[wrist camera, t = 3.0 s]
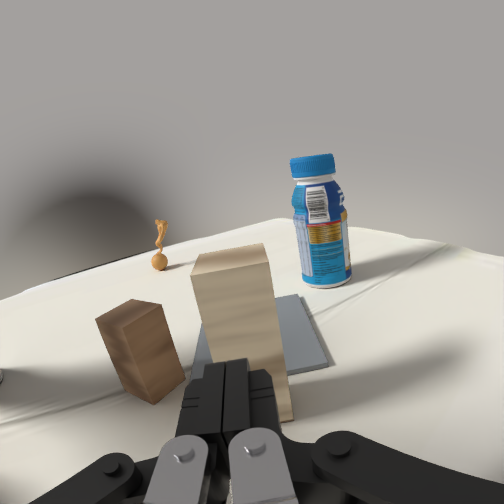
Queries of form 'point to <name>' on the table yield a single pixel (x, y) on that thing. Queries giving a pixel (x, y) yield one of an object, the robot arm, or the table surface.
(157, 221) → the figurine
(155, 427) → the table surface
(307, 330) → the slate mat
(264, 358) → the beech block
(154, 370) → the walnut block
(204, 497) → the robot arm
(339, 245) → the beverage bottle
